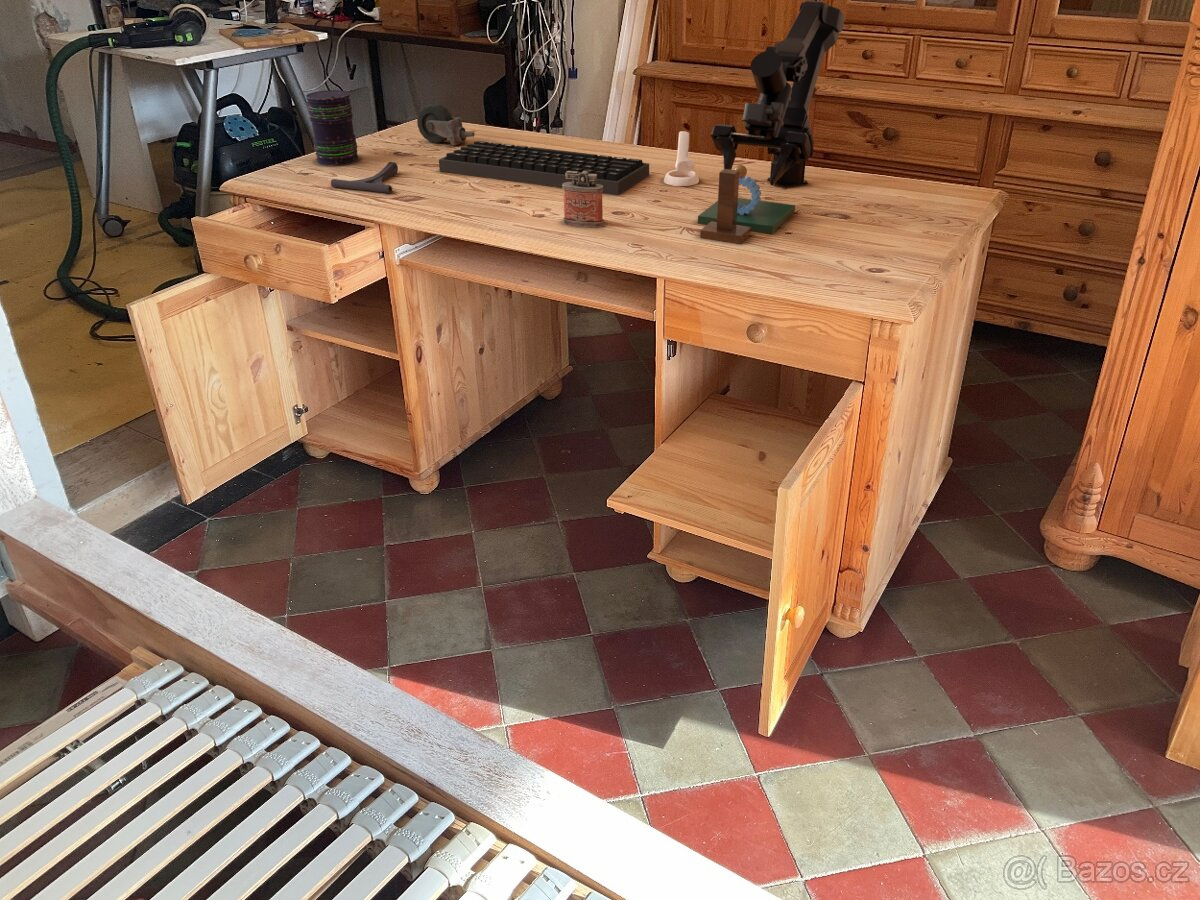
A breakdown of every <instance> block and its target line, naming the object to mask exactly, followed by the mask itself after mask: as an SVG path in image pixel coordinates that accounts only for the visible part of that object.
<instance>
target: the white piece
mask: <svg viewBox="0 0 1200 900" xmlns="http://www.w3.org/2000/svg"><path fill="white" fill-rule="evenodd" d="M677 141H678V142H677V153H676V154H677V155H676V162H675V165H674V167H675V169H674V170H669V171H667V172H666V174H665V176H664V179H663V183H664V184H665V185H669V186H671V187H672V186H674V187H690V186H694V185H695V186H696V185H697V184H699V183H700V180H699V176H698V174H697V172H695V171H693V170H694V169H695V167H696V164H695V163H696V162H695V161H694V160H693V159H691V158H689V145H690V133H689V132H688V131H684V130H680V131H679V132H678V140H677Z"/></svg>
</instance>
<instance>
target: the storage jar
mask: <svg viewBox="0 0 1200 900" xmlns="http://www.w3.org/2000/svg"><path fill="white" fill-rule="evenodd" d="M350 97H351V96H350V92H349V91H347V90H342V89H341V90H340V89H331V90H329V89H328V90H318V91H314V92H313V91H312V92H310V93H307V94H306V95H305V98H306V101H307V102H306V103H307V105H306V106H307V112H308V115H309V117H308V118H309V121H310V122H311V127H312V134H313V138H312V141H313V149H314V152H315V156H316V163H317V164H318V165H319V166H326V167H339V166H346V165H347V166H348V165H351V164H354V163H357V162H358V161H359V155H358V143H357V140H356V139H357V138H356V134H355V130H354V125H353V117H354V116H353V108H352V104H351V99H350Z"/></svg>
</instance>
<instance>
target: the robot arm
mask: <svg viewBox="0 0 1200 900" xmlns="http://www.w3.org/2000/svg"><path fill="white" fill-rule="evenodd" d="M798 10H799V11H798V14H797V16H796V18H795V20H794V22H793V23H792V25H791V27H790V29H789V31H788V32H787V34H786V36H785V38H784V39H783V40H781V41H778V42H776V43H775V44H774V45H772V46H769V45H767V46H766V48H765V51H761V52H760V53H758V54H756V55H755V56H754V58H753V59H752V60H751V62H750V71H751V74H752V77H753V81H754V83H755V88H756V90H757V91H758V92H759V93H760V94H759V96H758V99H757V103H753V102H746V103H745V104H744V109H743V114H742V119H741V121H742V122H745V125H744V128H745V130H746V131H747V133H740V132H737V130H736V127H735V125H733V124H722V123H717V124H715V125H714V126H713V127H712V129H711V133H710V137H711V139H712V142H713V144H714V147H715V149H716V150H717V151H719V152H720V154H721V155H722V156H723V157H722V158H723V169H730V170H733V166H734V163H735V160H736V157H737V152H736V150H737V149H738V146H739V145H744V146H754V147H761V148H767V155H773V156H772V160H771V162H770V172H769V174H770V175H769V177H767V181H768V182H769V183H770V186H774V185H776V186H778V187H780V188H782V189H783V188H790V187H796V186H797V187H798V186H803V185H808V184H809V181H808V180H806V179H805V173H806V163H807V161H808V160H809V158H810V157H813V156H814V145H815V141H814V138H813V134H812V133H813V132H812V130H811V128H812V127H811V123H810V120H809V116H808V111H809V107H810V105H811V101H812V98H813V95H814V90H815V87H816V84H817V81H818V78H819V75H820V71H821V70H820V69H821V68H822V64H823V60H824V57H825V54H826V53H827V52H828V51H829V50H830V49H831V48H832V47H833V46H835V45H836V43H837V41H838V38H839V36H840V33H842V32H843V29H844V25H845V15H844V13H843V11H842V10H841V9H840V8H838V7H834V6H831V5H829V4H828V3H827V2H825V1H824V0H823V1H822V0H820V1H819V0H805V1H802V2H801V3H800V5H799V9H798ZM790 82H792V84H790Z"/></svg>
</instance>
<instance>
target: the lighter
mask: <svg viewBox="0 0 1200 900" xmlns="http://www.w3.org/2000/svg"><path fill="white" fill-rule="evenodd" d="M565 175H566V179H573V180H572V182H565V183H563V184H562V190H563V192H562V193H563V224H565V225H569V226H575V227H585V228H601V227H604V223H605V221H604V218H603V214H604V213H603V193H602V191H603V185H600V184H596V180H597V174H589V173H588V171H583V172H582V173H578V172H575V171H567V172H566V173H565ZM576 180H578V182H576Z"/></svg>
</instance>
